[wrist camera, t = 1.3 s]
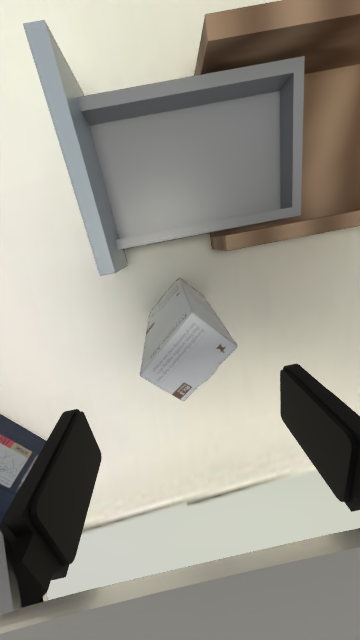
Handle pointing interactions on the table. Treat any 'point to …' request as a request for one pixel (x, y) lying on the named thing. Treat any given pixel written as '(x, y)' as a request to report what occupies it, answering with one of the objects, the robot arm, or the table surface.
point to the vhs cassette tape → (15, 459)
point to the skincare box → (183, 342)
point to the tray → (176, 150)
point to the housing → (318, 108)
